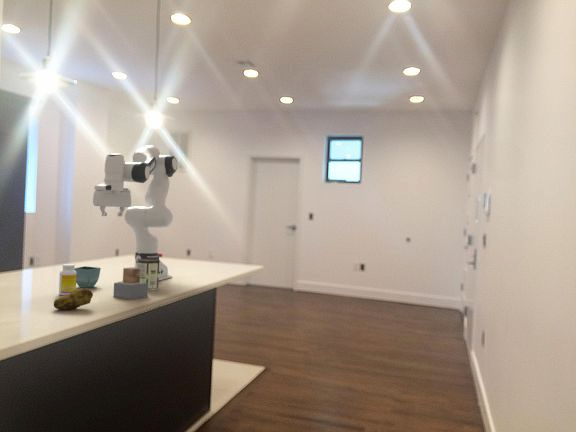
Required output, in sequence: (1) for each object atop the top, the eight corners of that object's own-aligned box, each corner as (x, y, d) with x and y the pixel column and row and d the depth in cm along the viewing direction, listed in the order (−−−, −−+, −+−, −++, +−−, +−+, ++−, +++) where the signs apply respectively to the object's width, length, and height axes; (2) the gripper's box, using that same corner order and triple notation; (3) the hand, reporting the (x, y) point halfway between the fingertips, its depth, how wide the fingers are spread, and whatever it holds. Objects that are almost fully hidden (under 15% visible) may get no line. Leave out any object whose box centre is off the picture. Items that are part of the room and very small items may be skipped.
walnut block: (131, 280, 217) (132, 267, 217) (139, 282, 215) (140, 268, 215) (122, 281, 213) (123, 268, 213) (131, 283, 210) (131, 269, 210)
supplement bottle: (78, 295, 211) (79, 265, 211) (62, 296, 207) (63, 266, 206) (71, 292, 216) (73, 263, 216) (56, 293, 211) (57, 264, 211)
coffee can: (144, 286, 241) (145, 257, 241) (162, 288, 238) (163, 259, 238) (131, 289, 232) (132, 259, 231) (149, 291, 228) (151, 261, 228)
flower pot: (89, 289, 227) (90, 269, 227) (72, 287, 228) (73, 268, 228) (100, 286, 235) (101, 267, 235) (83, 284, 237) (84, 266, 237)
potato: (58, 306, 187) (59, 285, 187) (93, 307, 189) (94, 286, 189) (51, 311, 179) (52, 289, 179) (88, 312, 181) (89, 290, 181)
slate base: (130, 293, 221) (131, 279, 221) (147, 296, 216) (148, 282, 216) (113, 296, 212) (114, 281, 212) (130, 299, 207) (130, 284, 207)
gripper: (125, 188, 243) (124, 216, 243) (91, 185, 225) (90, 215, 225) (134, 188, 240) (133, 216, 240) (101, 186, 222) (99, 216, 222)
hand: (112, 216), depth 233 cm, fingers open, 8 cm apart
